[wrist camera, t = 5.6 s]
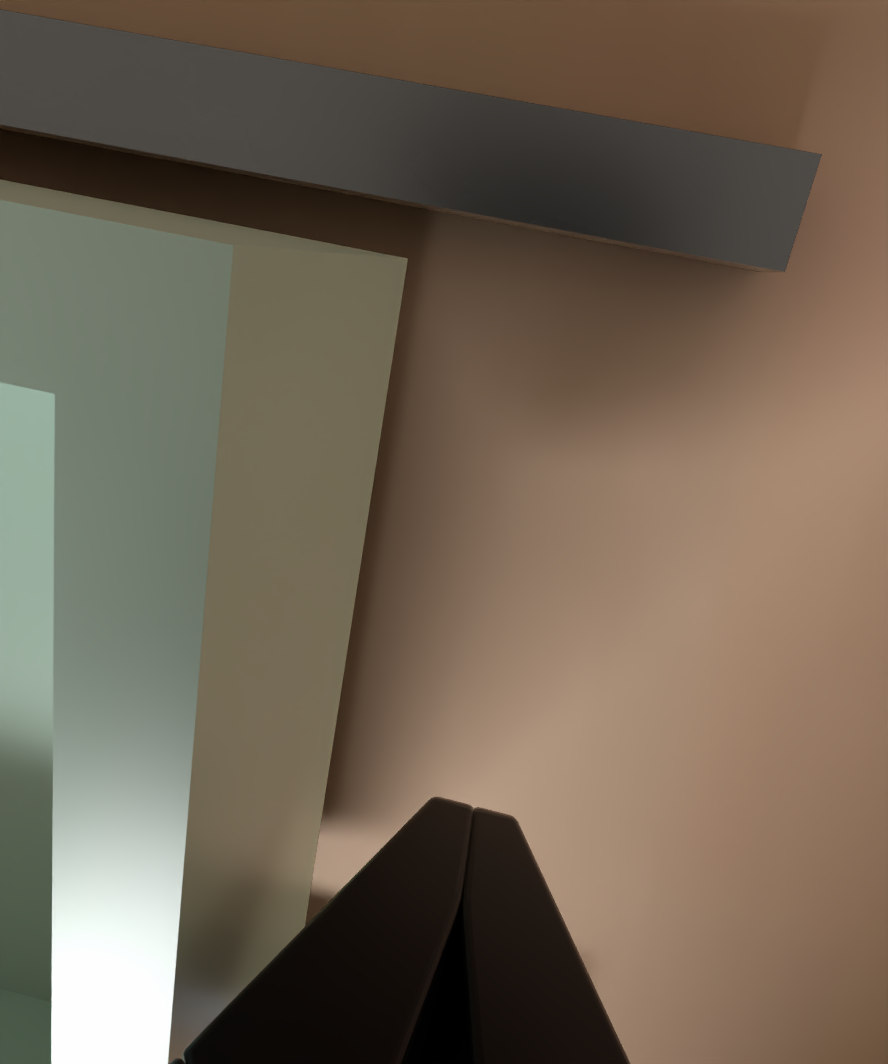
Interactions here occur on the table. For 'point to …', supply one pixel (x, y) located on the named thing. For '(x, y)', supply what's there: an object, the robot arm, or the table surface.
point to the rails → (406, 142)
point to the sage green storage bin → (170, 603)
